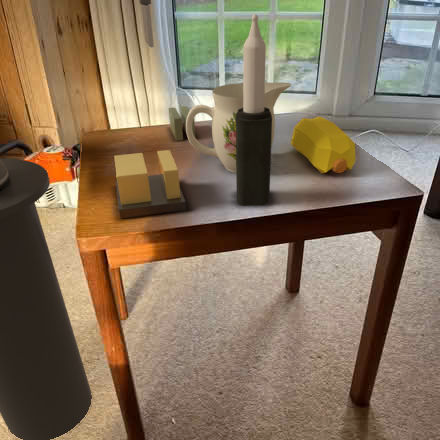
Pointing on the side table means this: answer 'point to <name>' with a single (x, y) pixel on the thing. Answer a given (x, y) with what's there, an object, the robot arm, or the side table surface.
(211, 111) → the pitcher
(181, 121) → the knife stand
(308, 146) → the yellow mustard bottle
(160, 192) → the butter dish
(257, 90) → the candle
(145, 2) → the knife
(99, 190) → the side table surface
